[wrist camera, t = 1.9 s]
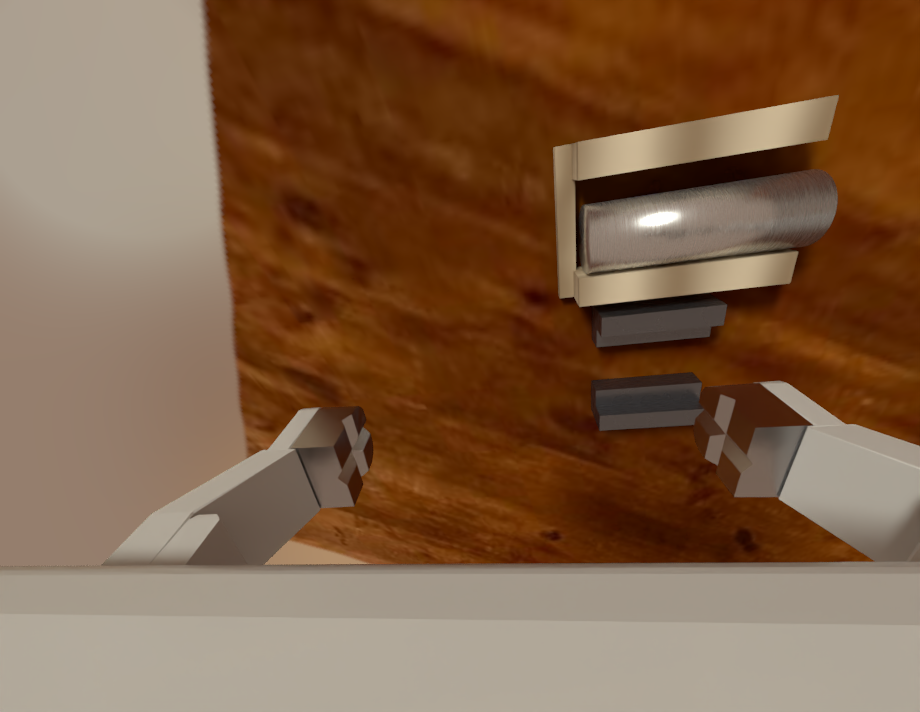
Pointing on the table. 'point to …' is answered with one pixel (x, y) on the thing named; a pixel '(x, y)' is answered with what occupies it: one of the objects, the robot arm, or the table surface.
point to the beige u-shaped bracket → (670, 149)
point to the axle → (707, 221)
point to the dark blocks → (658, 394)
